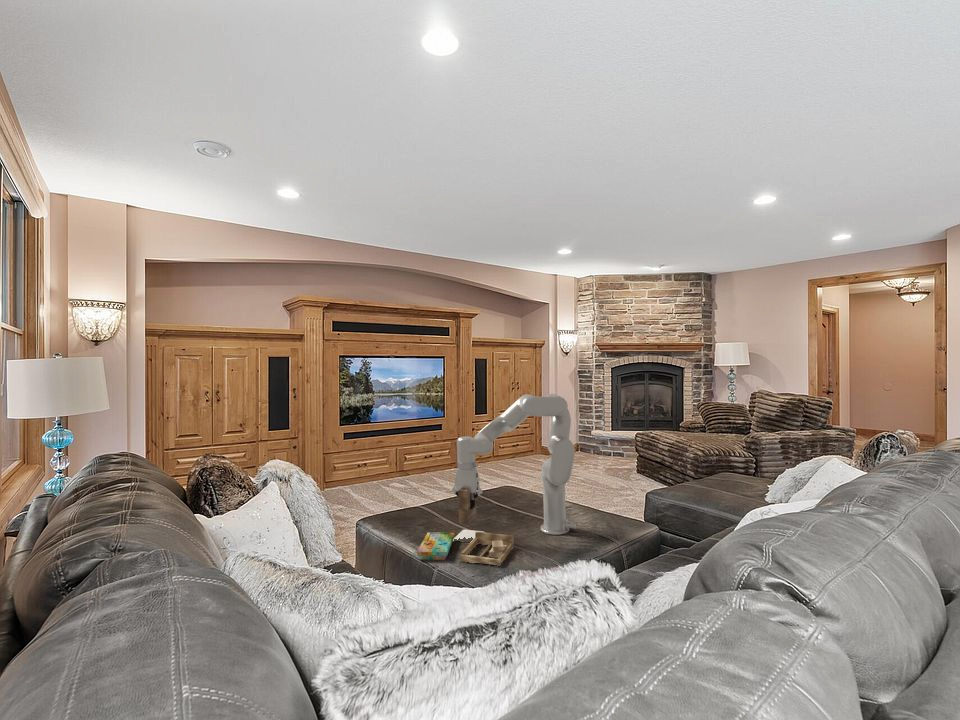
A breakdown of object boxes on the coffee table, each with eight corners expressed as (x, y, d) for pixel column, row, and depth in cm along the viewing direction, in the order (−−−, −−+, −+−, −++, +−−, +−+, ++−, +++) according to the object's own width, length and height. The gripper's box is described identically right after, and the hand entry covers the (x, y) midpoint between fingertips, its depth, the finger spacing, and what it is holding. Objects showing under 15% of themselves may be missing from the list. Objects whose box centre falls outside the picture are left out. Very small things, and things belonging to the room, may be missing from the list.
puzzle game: (417, 549, 199) (427, 530, 219) (417, 561, 199) (427, 541, 219) (447, 549, 197) (454, 530, 217) (447, 561, 198) (454, 541, 218)
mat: (484, 532, 226) (484, 531, 226) (474, 543, 214) (473, 542, 214) (463, 530, 229) (463, 529, 229) (451, 541, 217) (451, 540, 217)
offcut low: (507, 552, 205) (506, 545, 205) (501, 560, 197) (501, 553, 197) (495, 551, 206) (494, 544, 206) (489, 559, 199) (489, 552, 199)
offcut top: (502, 545, 205) (501, 540, 205) (503, 551, 198) (503, 546, 198) (492, 545, 205) (491, 540, 205) (493, 552, 198) (493, 547, 198)
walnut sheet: (476, 516, 225) (475, 484, 225) (467, 524, 216) (466, 491, 215) (467, 515, 227) (466, 484, 226) (458, 523, 217) (458, 490, 217)
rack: (513, 547, 208) (513, 535, 208) (499, 566, 191) (499, 553, 191) (476, 543, 214) (476, 531, 214) (459, 561, 197) (459, 548, 197)
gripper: (487, 464, 221) (488, 506, 222) (451, 462, 227) (452, 503, 227) (481, 469, 214) (482, 512, 215) (444, 466, 220) (446, 508, 220)
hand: (467, 507), depth 221 cm, fingers closed on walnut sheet, 4 cm apart
